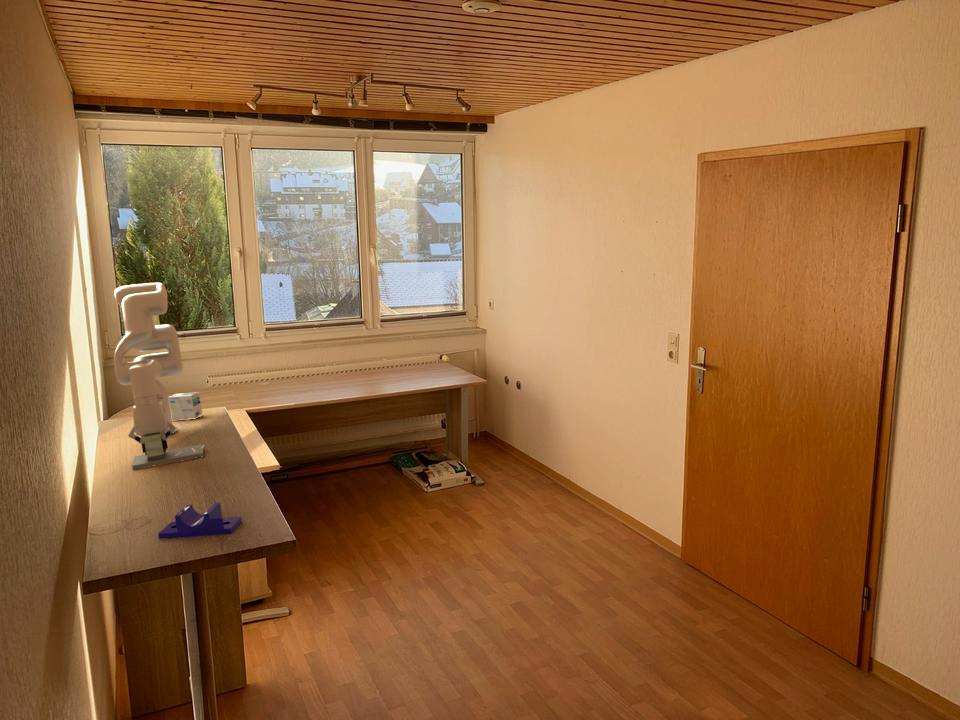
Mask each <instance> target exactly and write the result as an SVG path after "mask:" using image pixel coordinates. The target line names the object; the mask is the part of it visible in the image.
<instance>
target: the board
mask: <svg viewBox="0 0 960 720" xmlns="http://www.w3.org/2000/svg"><path fill="white" fill-rule="evenodd" d="M204 447H205V445H203V444H196V445H192V446H191V445H190V446H185V447H179V448H174V449H166V452H165V455H164V459H159V460H154V461H148V460H147V455H145V454H141V455H134V458H133V461H132V464H131V467H132V471H134V470H135V469H136V470H140V469H139V468H141V469H145V468H144V467H147V468H149V467H148V466H152V467H154V466H153V465H158V466H160V465H159V464H163V465H168V464H167V463H169V464H173V463H172V462H174V463H178V462H177V461H179V462H182V461H181V460H185V461H188V460H187V459H190V460H192V459H191V458H195V457H201V456H204V457H205V455H204V454H205V453H203V452H204ZM201 458H202V457H201Z"/></svg>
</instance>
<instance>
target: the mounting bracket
mask: <svg viewBox="0 0 960 720" xmlns="http://www.w3.org/2000/svg"><path fill="white" fill-rule="evenodd" d="M222 513H223V512H222V506H221V502H214V503H213V504H212V505H211V506H210V508H209V509H207V510H206V511H204V513H203V514H201V513H199V512H197V511H196V510H195V508H194V506H193V504H191V503H190V504H187V505H185V506H184V507H183V508H182V509H181V510H180V511H179V512H177V513H176V514H175V515H174V518H175V519H174V520H175V521H171V522H169V523H168V524H167V525H166V526H165V527H164V528H162V530H161V531H159V532H158V534H157V535H158V539H159V540H161V538H167V539H177V538H178V537H180V538H190V537H191V538H193V537H207V536H217V535H219V536H221V535H231V534H233V533H234V532H235V530H237V528H238V527H239V526H240V525H241V524H242V522H243V521H242V520H243V519H242V516H233V517H230V516H229V517H223V514H222Z"/></svg>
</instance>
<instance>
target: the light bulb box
mask: <svg viewBox="0 0 960 720" xmlns="http://www.w3.org/2000/svg"><path fill="white" fill-rule="evenodd" d="M168 401H169V406H170V412H171V418H172V420H179V419H188V418H196V417H198V416H199V415H201V414H202V413H203V409H202V408H203V407H202V402H201V397H200V392H199V391H195V392H194V391H193V392H182V393H174V394H173V395H170V396H168Z"/></svg>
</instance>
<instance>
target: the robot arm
mask: <svg viewBox="0 0 960 720" xmlns="http://www.w3.org/2000/svg"><path fill="white" fill-rule="evenodd" d="M113 294H114V298H115V300H116V302H117V304H118V306H119V307H120V308H121V309H122V318H123V326H124V327H123V328H124V336H123V338H122V339H121V340H120V341H119V342H118V344H117V346H116V348H115V350H114V353H113V363H114V364H113V365H114V374H115V377H116V381H117V382H118V384H120V385H122V386H129V385H130V386H131V390H132V396H133V397H132V398H133V401H134V405H133V406H132V419H133V427H132V428H131V430H130V432H129V433H128V434H127V437H128V438H131V439H132V440H135V442H138V444H139V443H140V445H141V449H142V453H143V454H144V455H147V454H146V448H145V443H144V436H145V435H149V434H155V433H160V434H161V437H162V445H163V451H164V452H166V451H167V450H168V448H169V447H168V438H169V437H170V435H172V434H171V433H173V432H175V431H177V430H178V427H177V426H175V425H174V424H173V421H172V415H171V409H170V404H169V396H168V391H167V387H166V385H165V384H164V383H163V382H161V381H160V379H161V378H166V377H172V376H173V377H174V376H179V375H180V374H182V372H183V368H184V367H183V365H184V363H183V359H182V353H181V347H180V341H179V337H178V333H177V330H176V328H175V327H174V326H173V325H171V324H169V323H167V324H165V323H164V324H155V323H154V317H153V316H160V315H164V314H166V313H167V311H168V304H169V303H168V292H167V288H166V286H165V285H164V283H161V282H147V283H137V284H136V283H135V284H129V285H127V284H126V285H122V286H121V285H120V286H119V287H117V288H115V289H114V292H113ZM133 348H134V349H135V351H137V352H142V353H145V352H153V351H162V350H165V352H164V351H163V352H158V353H149V354H148V353H147V354H143V355H139V356H137V357H135V358H134V359H133V361H129V362H124V358H125V356H126V354H128V352H129V351H130V350H132V349H133ZM177 432H178V431H177ZM175 433H176V432H175ZM173 434H174V433H173Z"/></svg>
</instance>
